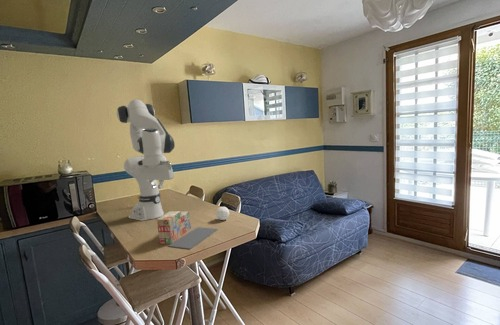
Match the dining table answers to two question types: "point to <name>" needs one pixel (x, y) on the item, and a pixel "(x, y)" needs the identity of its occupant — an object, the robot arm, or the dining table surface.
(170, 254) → the dining table surface
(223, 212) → the geometric ball
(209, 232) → the mat
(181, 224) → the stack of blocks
